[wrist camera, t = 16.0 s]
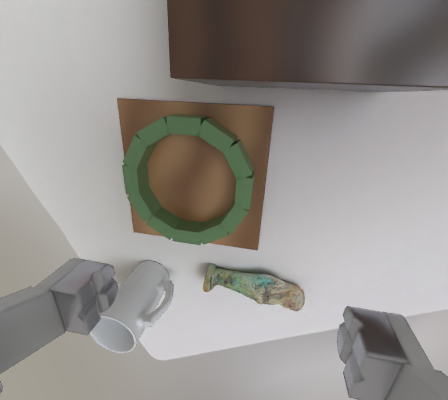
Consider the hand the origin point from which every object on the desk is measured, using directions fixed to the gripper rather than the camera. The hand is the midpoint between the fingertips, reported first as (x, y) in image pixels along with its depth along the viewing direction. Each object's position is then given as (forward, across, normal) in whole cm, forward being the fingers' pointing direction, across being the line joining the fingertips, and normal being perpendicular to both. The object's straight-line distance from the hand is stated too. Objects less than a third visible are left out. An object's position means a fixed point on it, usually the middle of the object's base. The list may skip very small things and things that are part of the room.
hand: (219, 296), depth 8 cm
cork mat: (+25, +9, +5) cm, 27 cm away
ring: (+24, +9, +5) cm, 26 cm away
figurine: (+25, -1, +21) cm, 32 cm away
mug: (+25, +15, +23) cm, 37 cm away
